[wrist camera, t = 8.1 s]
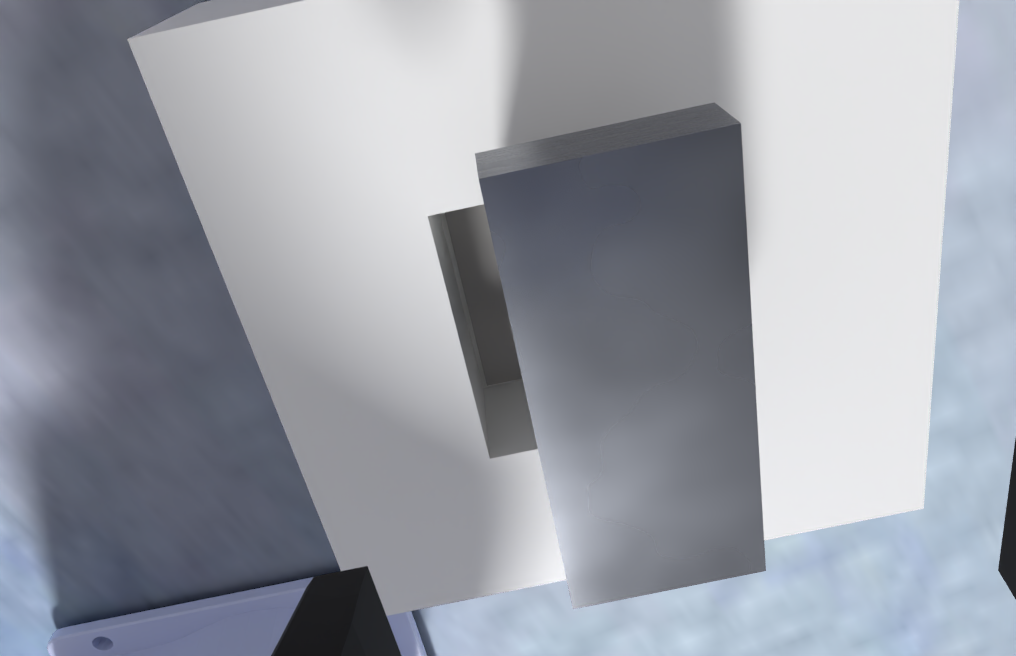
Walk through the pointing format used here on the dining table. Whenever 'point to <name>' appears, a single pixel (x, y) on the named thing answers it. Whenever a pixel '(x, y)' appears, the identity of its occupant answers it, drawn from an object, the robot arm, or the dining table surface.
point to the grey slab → (636, 345)
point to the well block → (472, 262)
